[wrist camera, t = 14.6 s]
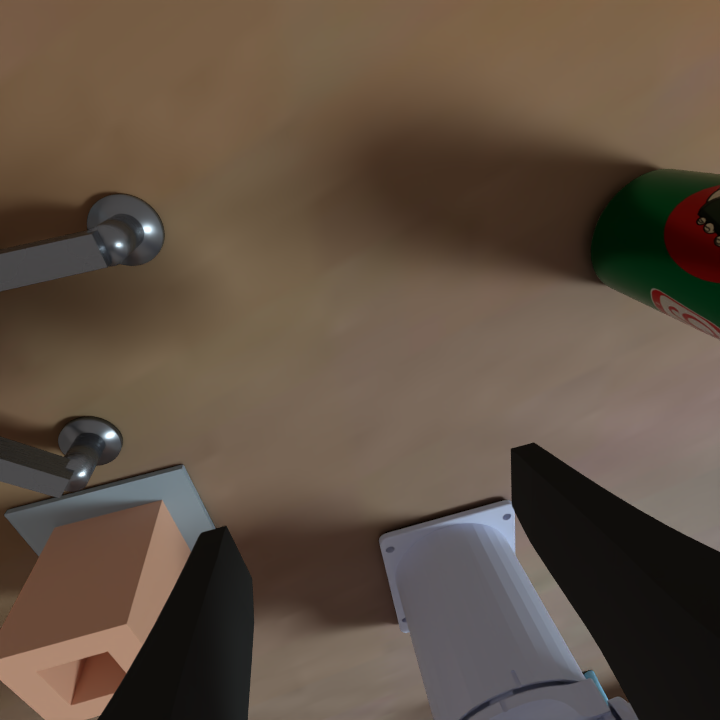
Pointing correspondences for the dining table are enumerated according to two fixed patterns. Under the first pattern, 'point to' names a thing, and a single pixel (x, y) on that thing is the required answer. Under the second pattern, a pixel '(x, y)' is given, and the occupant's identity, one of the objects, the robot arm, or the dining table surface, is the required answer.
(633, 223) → the soda can
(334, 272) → the dining table surface
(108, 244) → the bent jointed bar linkage
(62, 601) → the pink block with hole
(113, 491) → the mat
